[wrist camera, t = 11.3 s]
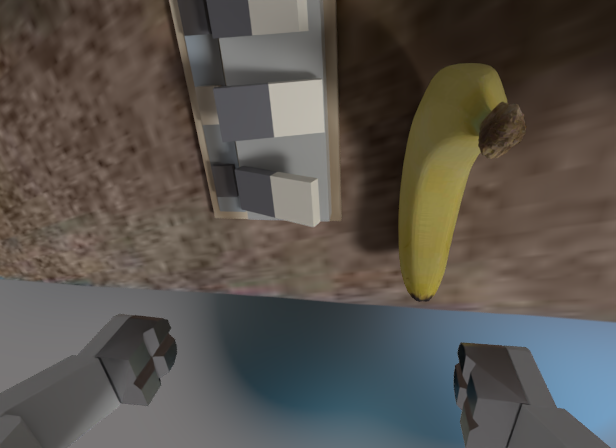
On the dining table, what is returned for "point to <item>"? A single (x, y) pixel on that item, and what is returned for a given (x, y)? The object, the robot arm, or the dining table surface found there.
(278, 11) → the block
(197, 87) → the switch board
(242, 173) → the rocker
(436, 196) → the banana
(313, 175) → the switch housing
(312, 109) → the rocker
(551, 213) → the dining table surface
